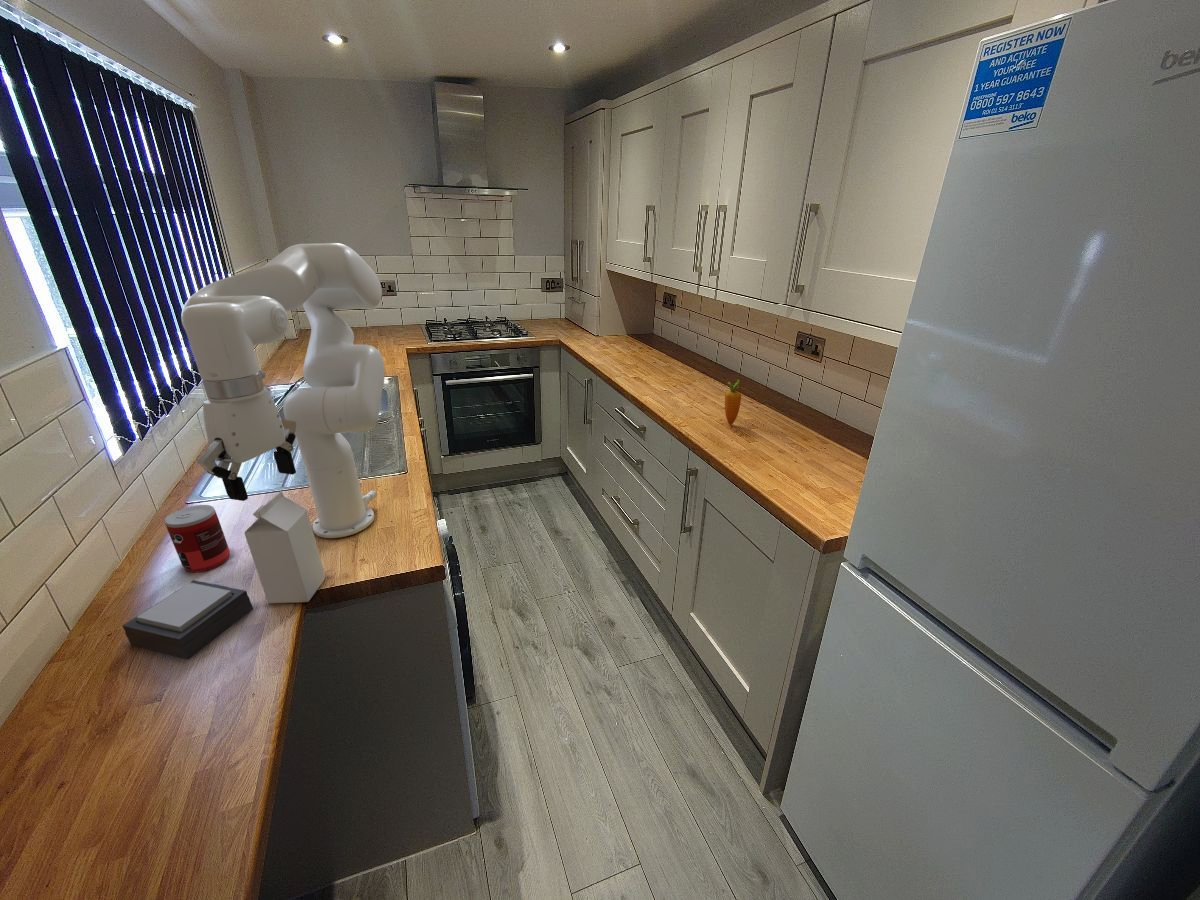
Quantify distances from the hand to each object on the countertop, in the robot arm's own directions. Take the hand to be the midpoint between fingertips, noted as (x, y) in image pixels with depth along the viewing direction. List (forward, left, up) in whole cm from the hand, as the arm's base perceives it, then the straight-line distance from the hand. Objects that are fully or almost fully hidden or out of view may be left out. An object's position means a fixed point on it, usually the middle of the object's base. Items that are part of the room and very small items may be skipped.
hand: (264, 485), depth 87 cm
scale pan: (+12, -10, -19) cm, 24 cm away
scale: (+12, -10, -22) cm, 27 cm away
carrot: (-104, +73, -22) cm, 129 cm away
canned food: (-3, -25, -22) cm, 34 cm away
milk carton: (0, 0, -22) cm, 22 cm away
